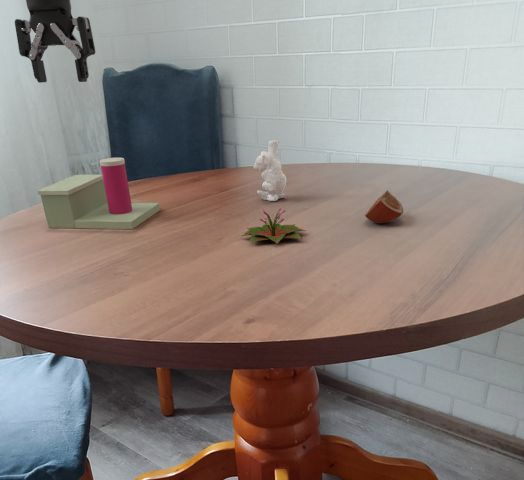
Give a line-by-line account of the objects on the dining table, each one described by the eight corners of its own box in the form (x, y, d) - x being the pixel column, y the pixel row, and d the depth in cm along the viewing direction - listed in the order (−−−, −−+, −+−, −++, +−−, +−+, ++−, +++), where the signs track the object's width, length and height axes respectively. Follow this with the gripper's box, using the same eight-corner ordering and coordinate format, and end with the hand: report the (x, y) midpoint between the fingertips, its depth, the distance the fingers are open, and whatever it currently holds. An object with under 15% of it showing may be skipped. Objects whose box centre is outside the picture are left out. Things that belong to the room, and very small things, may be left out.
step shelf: (131, 229, 102) (125, 190, 99) (46, 228, 106) (36, 190, 103) (160, 209, 115) (156, 174, 111) (83, 208, 119) (76, 174, 115)
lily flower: (240, 250, 89) (238, 222, 86) (237, 229, 99) (236, 204, 97) (313, 245, 89) (313, 217, 87) (302, 224, 100) (302, 199, 97)
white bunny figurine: (265, 194, 122) (263, 137, 116) (293, 195, 120) (292, 138, 114) (251, 203, 115) (247, 144, 110) (280, 205, 113) (278, 144, 107)
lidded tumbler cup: (117, 215, 106) (108, 162, 101) (104, 212, 109) (94, 160, 104) (137, 210, 109) (129, 158, 104) (124, 207, 112) (115, 156, 107)
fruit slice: (369, 215, 103) (371, 188, 101) (405, 216, 101) (408, 189, 98) (360, 227, 96) (361, 199, 94) (398, 229, 94) (401, 201, 92)
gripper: (-5, -21, 93) (17, 83, 101) (70, -26, 91) (87, 82, 98) (21, -16, 100) (40, 82, 107) (91, -20, 97) (106, 80, 105)
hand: (62, 82), depth 103 cm, fingers open, 8 cm apart
